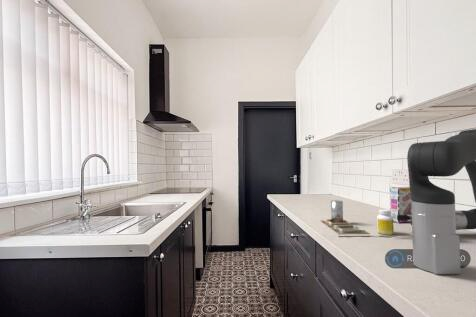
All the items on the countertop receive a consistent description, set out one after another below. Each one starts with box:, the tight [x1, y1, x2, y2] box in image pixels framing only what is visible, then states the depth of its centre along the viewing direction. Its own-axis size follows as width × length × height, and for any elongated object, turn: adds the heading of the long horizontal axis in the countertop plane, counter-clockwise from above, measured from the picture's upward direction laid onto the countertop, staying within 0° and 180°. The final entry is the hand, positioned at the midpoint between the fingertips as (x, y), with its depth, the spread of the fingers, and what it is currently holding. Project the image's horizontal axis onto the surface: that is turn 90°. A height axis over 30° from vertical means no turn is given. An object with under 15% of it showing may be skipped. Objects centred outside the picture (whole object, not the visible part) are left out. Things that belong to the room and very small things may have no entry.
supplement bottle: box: [376, 209, 395, 238], centre depth 97 cm, size 5×5×10 cm
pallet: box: [320, 218, 372, 238], centre depth 108 cm, size 24×12×2 cm, turn 179°
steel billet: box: [330, 199, 344, 223], centre depth 114 cm, size 5×5×10 cm
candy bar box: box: [389, 186, 412, 224], centre depth 121 cm, size 11×5×16 cm, turn 108°
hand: (404, 220), depth 97 cm, fingers open, 8 cm apart
